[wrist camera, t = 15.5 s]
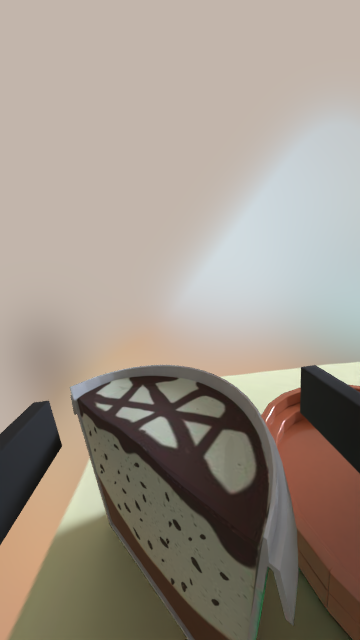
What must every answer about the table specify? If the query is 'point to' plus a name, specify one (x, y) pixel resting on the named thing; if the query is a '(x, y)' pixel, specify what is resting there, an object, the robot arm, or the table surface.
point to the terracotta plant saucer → (321, 509)
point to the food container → (193, 493)
